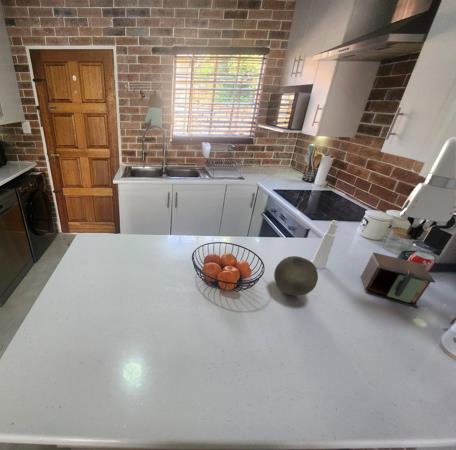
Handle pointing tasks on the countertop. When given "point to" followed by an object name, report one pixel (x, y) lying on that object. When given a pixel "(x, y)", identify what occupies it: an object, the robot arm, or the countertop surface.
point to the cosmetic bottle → (325, 246)
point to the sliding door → (405, 287)
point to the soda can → (422, 259)
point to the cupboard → (392, 276)
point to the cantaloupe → (296, 276)
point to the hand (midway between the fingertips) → (411, 237)
